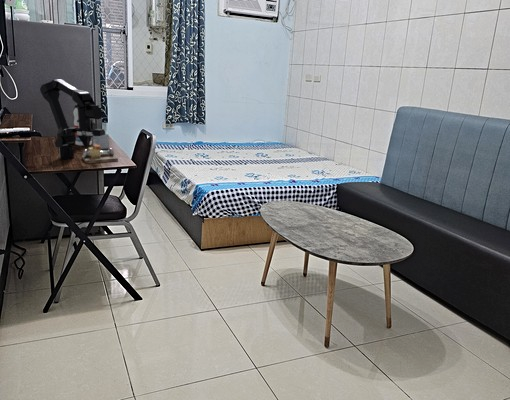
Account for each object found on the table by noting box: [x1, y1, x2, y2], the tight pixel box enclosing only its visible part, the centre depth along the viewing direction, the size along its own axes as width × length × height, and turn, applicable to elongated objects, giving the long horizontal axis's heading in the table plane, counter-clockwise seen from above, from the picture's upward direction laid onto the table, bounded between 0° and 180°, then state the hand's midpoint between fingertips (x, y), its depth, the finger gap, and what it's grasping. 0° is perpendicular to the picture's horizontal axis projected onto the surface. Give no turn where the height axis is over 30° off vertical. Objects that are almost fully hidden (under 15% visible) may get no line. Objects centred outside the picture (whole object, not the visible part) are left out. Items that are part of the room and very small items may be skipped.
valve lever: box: [90, 142, 102, 151], centre depth 227 cm, size 11×3×2 cm, turn 30°
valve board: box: [81, 146, 119, 164], centre depth 231 cm, size 16×13×7 cm
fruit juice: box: [72, 102, 93, 147], centre depth 268 cm, size 9×9×28 cm
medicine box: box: [92, 132, 110, 150], centre depth 260 cm, size 8×4×9 cm, turn 141°
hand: (87, 148), depth 224 cm, fingers closed
